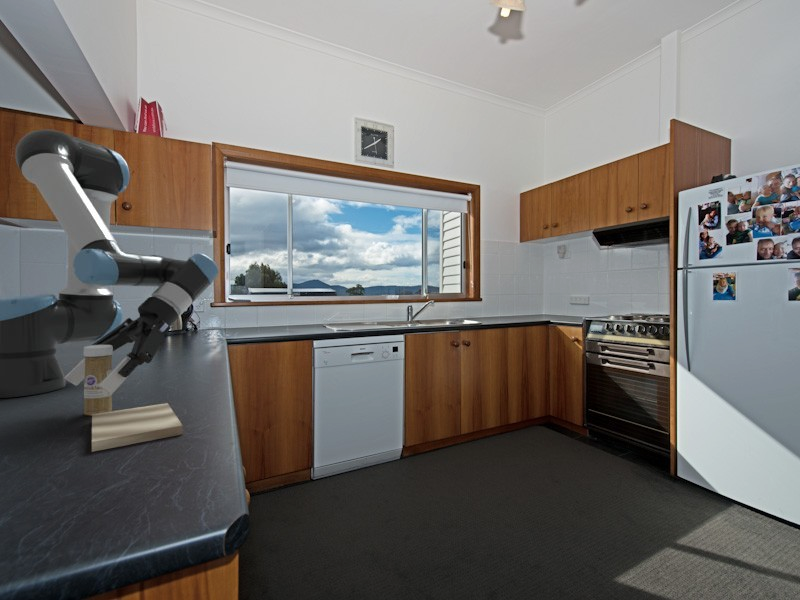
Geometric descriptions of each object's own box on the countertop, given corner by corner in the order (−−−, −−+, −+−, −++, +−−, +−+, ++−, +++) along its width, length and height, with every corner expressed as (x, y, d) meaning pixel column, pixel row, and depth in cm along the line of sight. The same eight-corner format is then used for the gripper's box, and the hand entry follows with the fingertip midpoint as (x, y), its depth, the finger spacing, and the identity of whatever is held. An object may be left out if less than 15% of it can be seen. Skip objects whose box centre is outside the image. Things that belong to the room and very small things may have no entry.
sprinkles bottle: (79, 417, 74) (78, 347, 74) (90, 410, 78) (90, 344, 78) (107, 415, 75) (107, 346, 75) (116, 408, 79) (116, 343, 79)
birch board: (92, 422, 71) (92, 414, 71) (167, 410, 78) (167, 403, 78) (91, 451, 58) (91, 441, 58) (182, 434, 65) (182, 425, 65)
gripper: (210, 319, 84) (137, 404, 71) (146, 316, 96) (73, 388, 83) (187, 295, 79) (104, 381, 66) (122, 294, 91) (41, 368, 78)
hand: (86, 385), depth 75 cm, fingers open, 13 cm apart
